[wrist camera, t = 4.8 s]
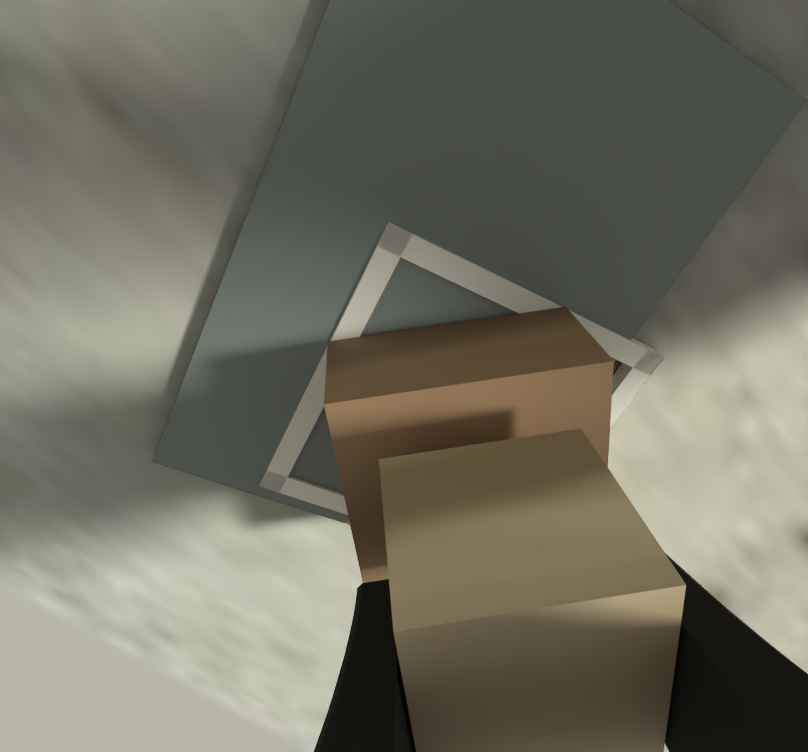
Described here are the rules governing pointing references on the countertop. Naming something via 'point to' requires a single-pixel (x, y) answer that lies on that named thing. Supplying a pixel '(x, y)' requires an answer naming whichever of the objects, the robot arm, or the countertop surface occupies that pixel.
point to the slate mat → (464, 205)
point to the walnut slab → (456, 399)
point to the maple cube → (528, 600)
